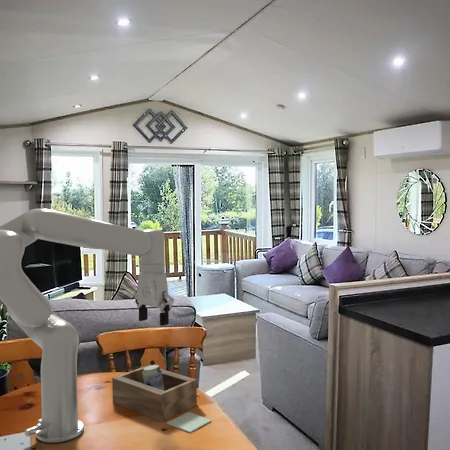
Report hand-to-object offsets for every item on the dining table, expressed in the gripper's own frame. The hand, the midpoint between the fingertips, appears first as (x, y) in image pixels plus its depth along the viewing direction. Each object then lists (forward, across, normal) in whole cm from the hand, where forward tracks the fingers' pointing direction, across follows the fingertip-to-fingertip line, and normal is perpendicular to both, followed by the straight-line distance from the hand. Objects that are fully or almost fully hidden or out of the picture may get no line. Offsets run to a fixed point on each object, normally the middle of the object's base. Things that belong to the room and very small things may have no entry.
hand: (153, 322), depth 152 cm
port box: (+26, 0, 0) cm, 26 cm away
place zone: (+26, +18, -3) cm, 32 cm away
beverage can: (+26, 0, 0) cm, 26 cm away
